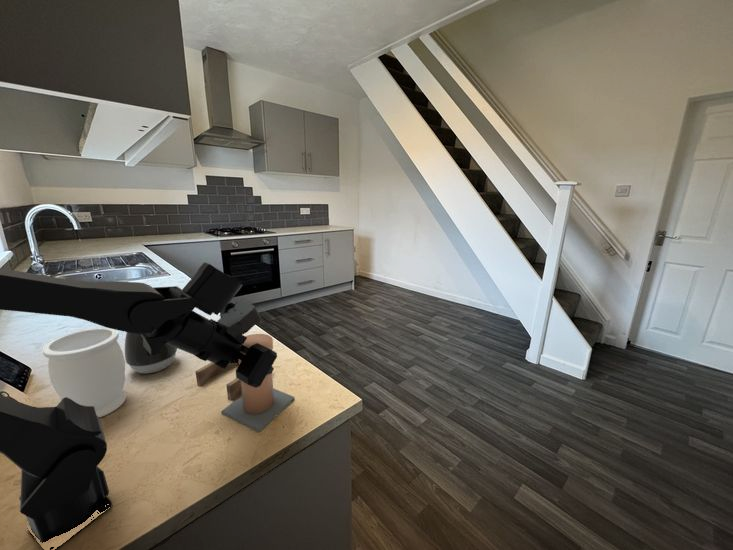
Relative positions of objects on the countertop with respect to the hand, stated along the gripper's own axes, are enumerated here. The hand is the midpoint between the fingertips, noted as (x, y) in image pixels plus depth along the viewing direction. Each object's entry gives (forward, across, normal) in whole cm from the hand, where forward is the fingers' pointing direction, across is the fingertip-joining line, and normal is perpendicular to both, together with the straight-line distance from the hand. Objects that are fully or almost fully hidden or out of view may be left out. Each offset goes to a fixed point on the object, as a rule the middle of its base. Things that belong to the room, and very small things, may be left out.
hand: (261, 365), depth 58 cm
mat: (+5, 0, +7) cm, 9 cm away
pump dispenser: (+1, +32, +12) cm, 35 cm away
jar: (-8, +26, +21) cm, 34 cm away
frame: (+7, +12, +6) cm, 15 cm away
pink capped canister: (+5, 0, +7) cm, 8 cm away
